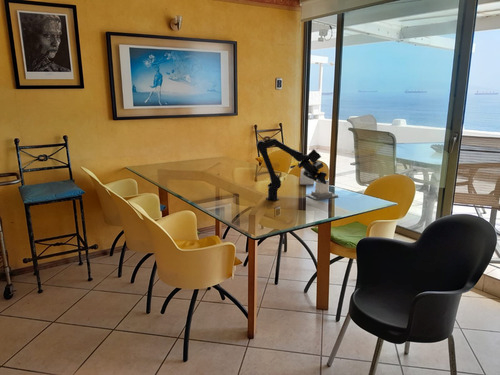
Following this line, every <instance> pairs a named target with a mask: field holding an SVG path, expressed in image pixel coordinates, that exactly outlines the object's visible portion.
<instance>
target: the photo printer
mask: <svg viewBox="0 0 500 375" xmlns="http://www.w3.org/2000/svg"><path fill="white" fill-rule="evenodd" d="M304 171H305V169H304V168H303V167H302V168H300V183H299V184H300V185H314V184H315V180H312V179H310V178H308V177H306V176H304V175H303V173H304Z"/></svg>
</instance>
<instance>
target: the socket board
mask: <svg viewBox="0 0 500 375" xmlns="http://www.w3.org/2000/svg"><path fill="white" fill-rule="evenodd" d="M305 197H307V198H309V199H311V200H314V201H321V200H328V199H333V198H339V195H338V194H335V193H333V192H331V191H329V192H328V193H323V194H318V193H316V192H315V190H312V191H311V193H307V194H305Z"/></svg>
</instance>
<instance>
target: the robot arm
mask: <svg viewBox="0 0 500 375" xmlns="http://www.w3.org/2000/svg"><path fill="white" fill-rule="evenodd" d="M255 146H256V148H257V150H258V151H259V153H260V155H261V156H262V158H263V161H264V164H265V167H266V169H267V172H268V175H269V180H270V182H269V184H267V188H268V189H267V190H268V191H267V197H265V199H266V200H267V201H269V202H273V201H279V200H280V198H278V190H279V189H280V188H281V186H282V181H281V179H280V175H279V174H276V172H275V170H274V167H273V165H272V161H271V159H270V157H269V154H268V148H271V147H273V146H275V147H276V148H278V149H280V150H282V151H283V152H284V153H287V154H289V155H290V156H291V157H292V158H293V159H294V160H296V161H297V167H298V168H299V169H303V168H304V169H305V171H304V173H303V175H304V176H306V177H308V178H310V179H312V180H314V182H316V180H318V181H319V182H321V183H323V184H326V180H327V179H326V177H327V176H328V173H326V172H324V171H320V169H322V168H324V164H323V162H322V161H318V160H320V158H322V156H321V154H320V153H319V152H317V151H316V149H314V148H313V149H312V150H311V151H310V152H309V153H308V154H306V153H303V152H301V151H299V150H297V149H293V148H291V147H290V146H288V145H287V144H285V143H283V142H281V141H280V140H277V138H275V137H274V138H270V139H265V140H262V139H260V140H257V142H256V144H255ZM325 179H326V180H325Z"/></svg>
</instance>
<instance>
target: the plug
mask: <svg viewBox="0 0 500 375" xmlns="http://www.w3.org/2000/svg"><path fill="white" fill-rule="evenodd" d="M325 180H326V184H323V183H321V182H319V181H318V180H316V181H315V189H314V191H315V192H316V193H318V194H323V193H328V192H330V191H329V188H330V180H328V179H326V178H325Z"/></svg>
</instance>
